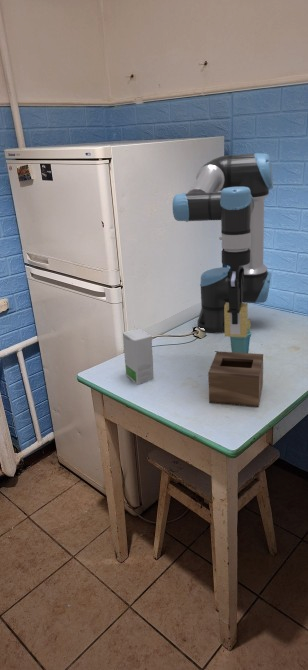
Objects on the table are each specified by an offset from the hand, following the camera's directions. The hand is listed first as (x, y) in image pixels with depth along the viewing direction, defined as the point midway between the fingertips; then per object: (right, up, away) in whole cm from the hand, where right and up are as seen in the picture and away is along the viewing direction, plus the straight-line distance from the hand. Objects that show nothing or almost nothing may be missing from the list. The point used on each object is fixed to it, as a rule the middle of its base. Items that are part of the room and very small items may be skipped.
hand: (236, 331), depth 132 cm
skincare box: (-28, -15, +22) cm, 38 cm away
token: (0, -1, 0) cm, 1 cm away
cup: (+6, -10, +27) cm, 29 cm away
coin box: (+2, -18, +8) cm, 20 cm away
